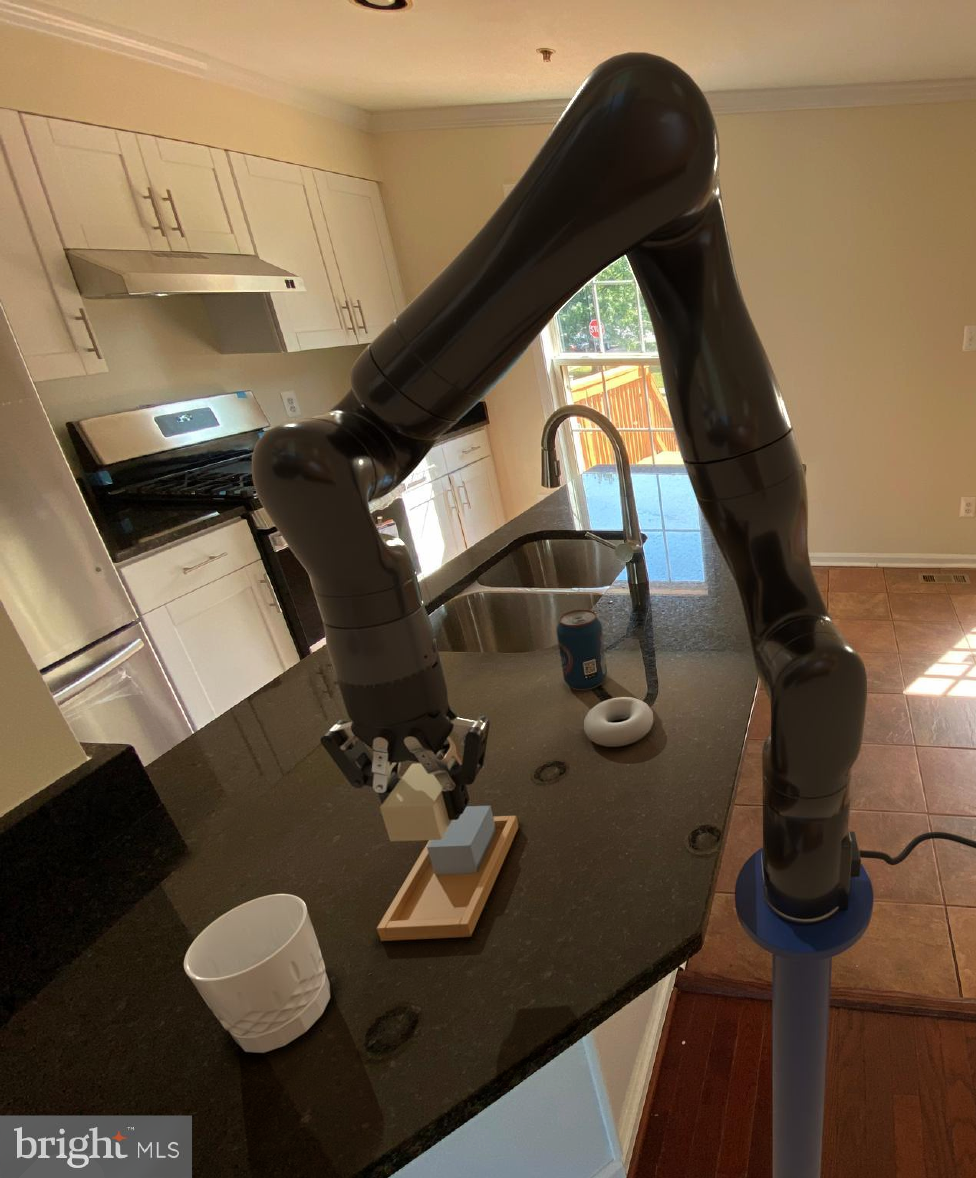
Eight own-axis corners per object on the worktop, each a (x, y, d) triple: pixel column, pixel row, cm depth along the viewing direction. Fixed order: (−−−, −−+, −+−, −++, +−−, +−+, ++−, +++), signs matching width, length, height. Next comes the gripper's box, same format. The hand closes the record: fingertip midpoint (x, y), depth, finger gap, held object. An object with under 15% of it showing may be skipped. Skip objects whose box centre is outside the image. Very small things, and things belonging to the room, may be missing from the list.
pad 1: (467, 794, 63) (459, 761, 62) (441, 839, 58) (432, 805, 56) (420, 795, 63) (411, 763, 61) (390, 841, 57) (379, 807, 56)
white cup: (275, 1074, 51) (233, 992, 47) (203, 1045, 53) (157, 965, 49) (360, 983, 58) (329, 905, 54) (293, 961, 60) (259, 884, 56)
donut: (632, 704, 100) (572, 728, 94) (631, 685, 99) (570, 708, 92) (667, 733, 93) (605, 761, 87) (666, 713, 92) (602, 740, 86)
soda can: (559, 677, 107) (549, 614, 102) (600, 666, 110) (592, 604, 105) (571, 697, 101) (561, 630, 97) (613, 684, 105) (606, 619, 100)
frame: (518, 826, 76) (516, 815, 75) (470, 936, 62) (467, 924, 62) (445, 829, 75) (441, 818, 75) (380, 941, 62) (376, 928, 61)
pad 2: (496, 831, 74) (490, 805, 73) (477, 873, 69) (470, 845, 67) (457, 833, 74) (450, 806, 72) (434, 875, 68) (426, 847, 67)
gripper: (268, 683, 49) (328, 848, 56) (456, 679, 50) (493, 841, 57) (325, 638, 56) (373, 790, 63) (490, 635, 57) (519, 785, 64)
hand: (430, 813), depth 60 cm, fingers closed on pad 1, 4 cm apart
